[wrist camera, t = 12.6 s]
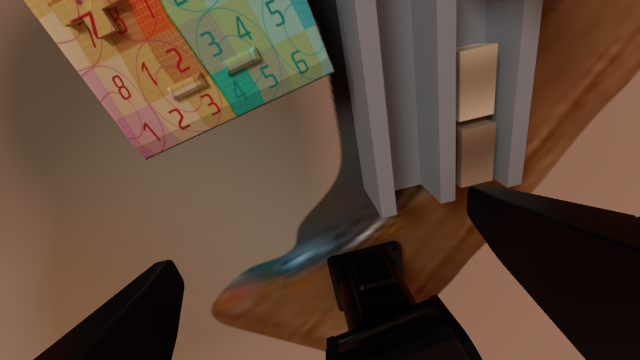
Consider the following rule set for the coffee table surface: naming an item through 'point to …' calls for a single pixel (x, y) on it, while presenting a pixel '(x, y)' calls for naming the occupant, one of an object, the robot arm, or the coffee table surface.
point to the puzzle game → (185, 59)
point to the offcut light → (475, 80)
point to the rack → (432, 88)
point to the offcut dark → (474, 151)
